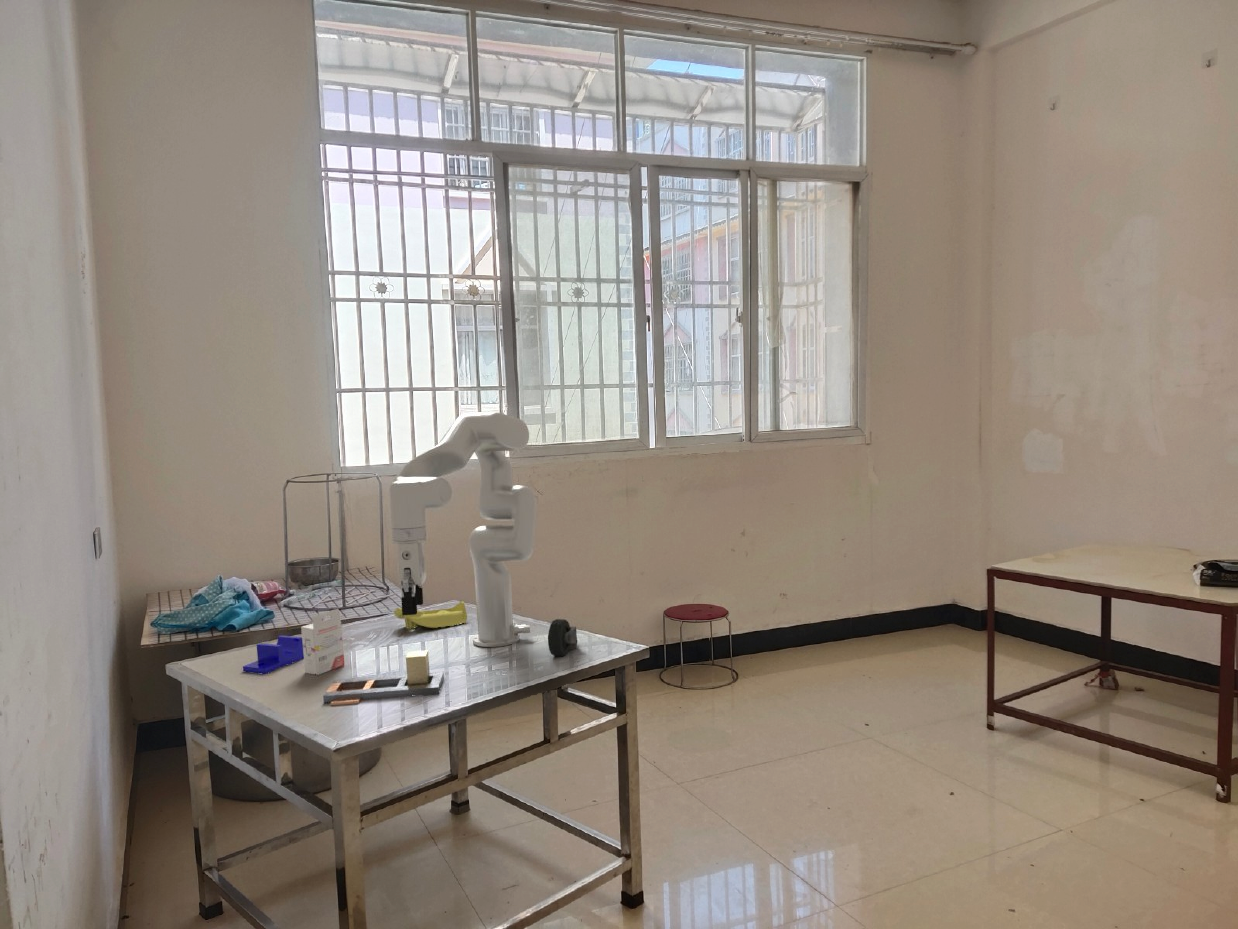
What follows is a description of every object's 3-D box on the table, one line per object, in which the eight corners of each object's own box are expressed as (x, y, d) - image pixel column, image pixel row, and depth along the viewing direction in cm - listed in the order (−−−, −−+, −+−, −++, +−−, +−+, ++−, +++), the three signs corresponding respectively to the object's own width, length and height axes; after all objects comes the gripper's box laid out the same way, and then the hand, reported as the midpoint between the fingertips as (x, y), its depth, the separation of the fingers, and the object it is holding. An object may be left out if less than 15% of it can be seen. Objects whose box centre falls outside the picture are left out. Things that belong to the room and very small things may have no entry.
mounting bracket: (296, 652, 227) (294, 630, 226) (317, 654, 224) (315, 632, 223) (243, 673, 210) (241, 650, 210) (265, 675, 207) (263, 652, 207)
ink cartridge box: (332, 662, 214) (328, 606, 213) (345, 665, 212) (341, 608, 210) (303, 673, 207) (299, 614, 206) (316, 675, 204) (312, 616, 203)
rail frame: (444, 678, 198) (443, 671, 198) (437, 697, 185) (437, 690, 185) (335, 686, 195) (335, 679, 195) (321, 706, 183) (320, 699, 182)
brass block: (430, 684, 194) (428, 650, 194) (427, 690, 190) (425, 656, 189) (410, 685, 194) (408, 651, 193) (408, 692, 189) (405, 657, 189)
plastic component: (453, 608, 257) (464, 599, 249) (457, 632, 254) (468, 623, 247) (389, 615, 246) (399, 605, 239) (392, 639, 244) (403, 631, 236)
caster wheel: (565, 664, 207) (584, 641, 222) (562, 627, 206) (581, 606, 220) (544, 663, 209) (564, 640, 223) (541, 626, 207) (561, 605, 222)
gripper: (420, 539, 181) (424, 617, 182) (430, 529, 198) (434, 600, 199) (385, 541, 180) (389, 619, 181) (398, 530, 197) (402, 602, 198)
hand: (413, 609), depth 190 cm, fingers open, 9 cm apart
